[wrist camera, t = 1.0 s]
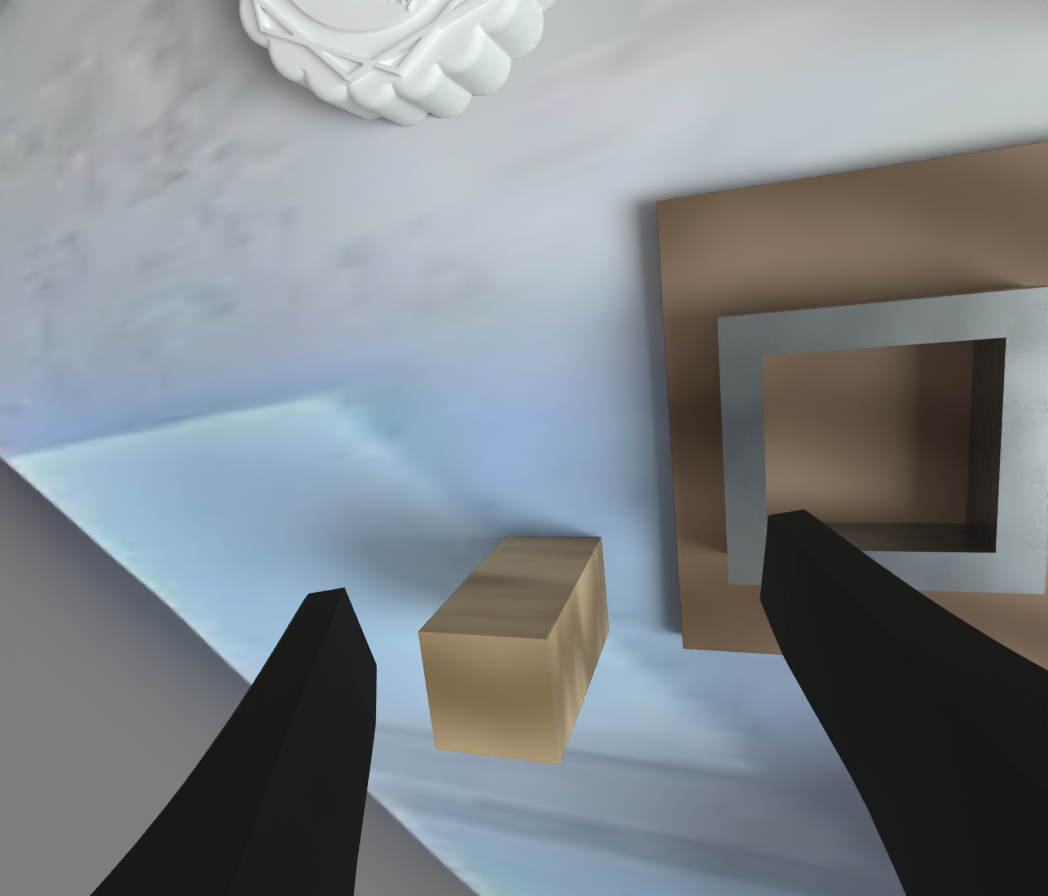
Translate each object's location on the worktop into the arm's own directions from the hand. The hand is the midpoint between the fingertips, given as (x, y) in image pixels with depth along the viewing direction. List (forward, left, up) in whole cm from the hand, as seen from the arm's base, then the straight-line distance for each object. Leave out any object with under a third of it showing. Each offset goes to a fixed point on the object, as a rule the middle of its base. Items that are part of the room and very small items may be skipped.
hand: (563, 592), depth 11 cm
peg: (-6, +4, -14) cm, 16 cm away
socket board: (0, -7, -14) cm, 15 cm away
